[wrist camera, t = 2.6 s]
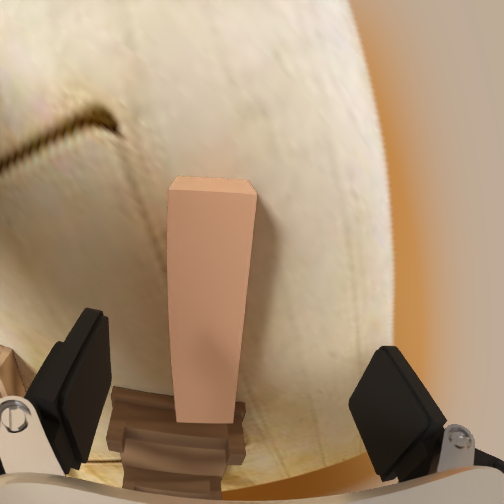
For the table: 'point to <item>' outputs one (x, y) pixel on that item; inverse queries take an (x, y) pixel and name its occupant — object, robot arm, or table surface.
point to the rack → (171, 446)
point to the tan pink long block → (207, 292)
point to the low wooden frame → (10, 375)
